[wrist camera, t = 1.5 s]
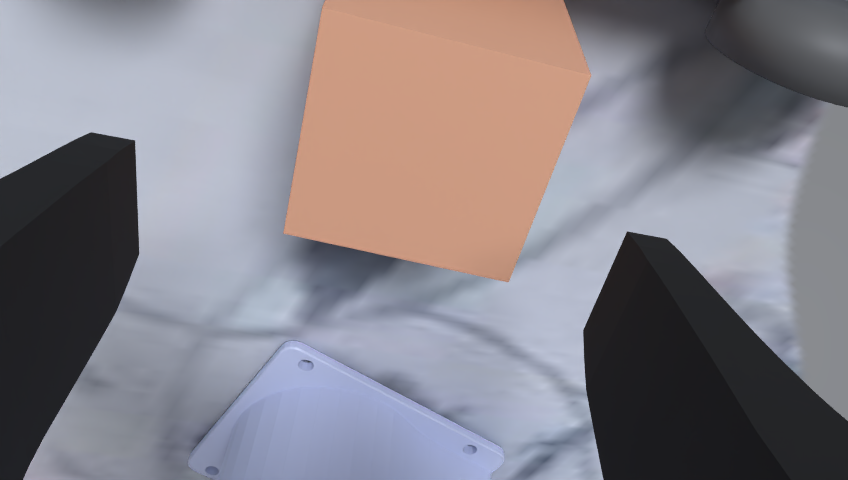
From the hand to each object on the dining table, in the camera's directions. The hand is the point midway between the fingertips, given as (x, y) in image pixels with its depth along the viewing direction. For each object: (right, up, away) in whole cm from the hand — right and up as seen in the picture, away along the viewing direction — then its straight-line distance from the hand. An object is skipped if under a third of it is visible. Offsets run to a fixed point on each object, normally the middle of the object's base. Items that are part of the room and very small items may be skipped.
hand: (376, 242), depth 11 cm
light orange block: (+1, +5, +9) cm, 10 cm away
